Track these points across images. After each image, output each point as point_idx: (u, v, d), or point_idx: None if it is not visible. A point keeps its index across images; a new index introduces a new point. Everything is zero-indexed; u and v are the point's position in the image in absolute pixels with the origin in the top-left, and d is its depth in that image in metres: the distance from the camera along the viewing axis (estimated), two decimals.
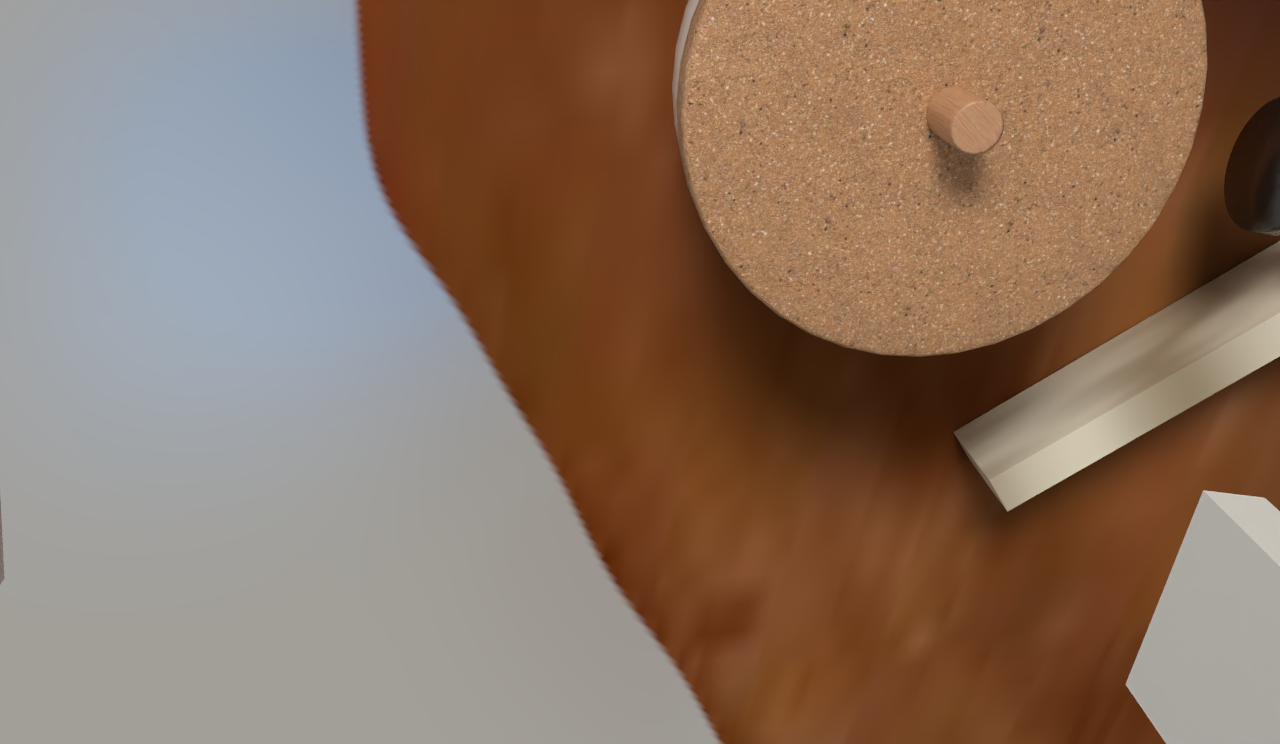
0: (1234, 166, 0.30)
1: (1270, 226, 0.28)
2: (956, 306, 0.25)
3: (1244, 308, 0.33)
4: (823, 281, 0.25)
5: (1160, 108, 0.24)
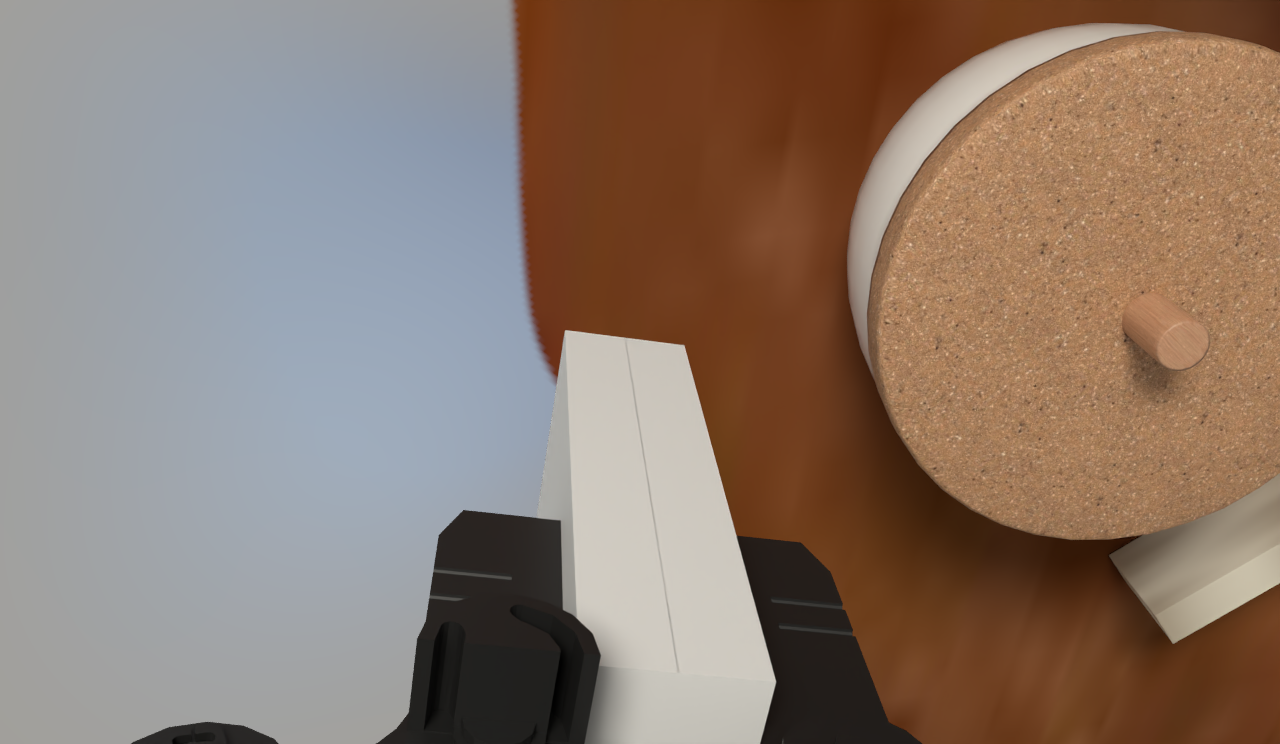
0: None
1: None
2: (1148, 494, 0.26)
3: None
4: (1016, 478, 0.25)
5: None
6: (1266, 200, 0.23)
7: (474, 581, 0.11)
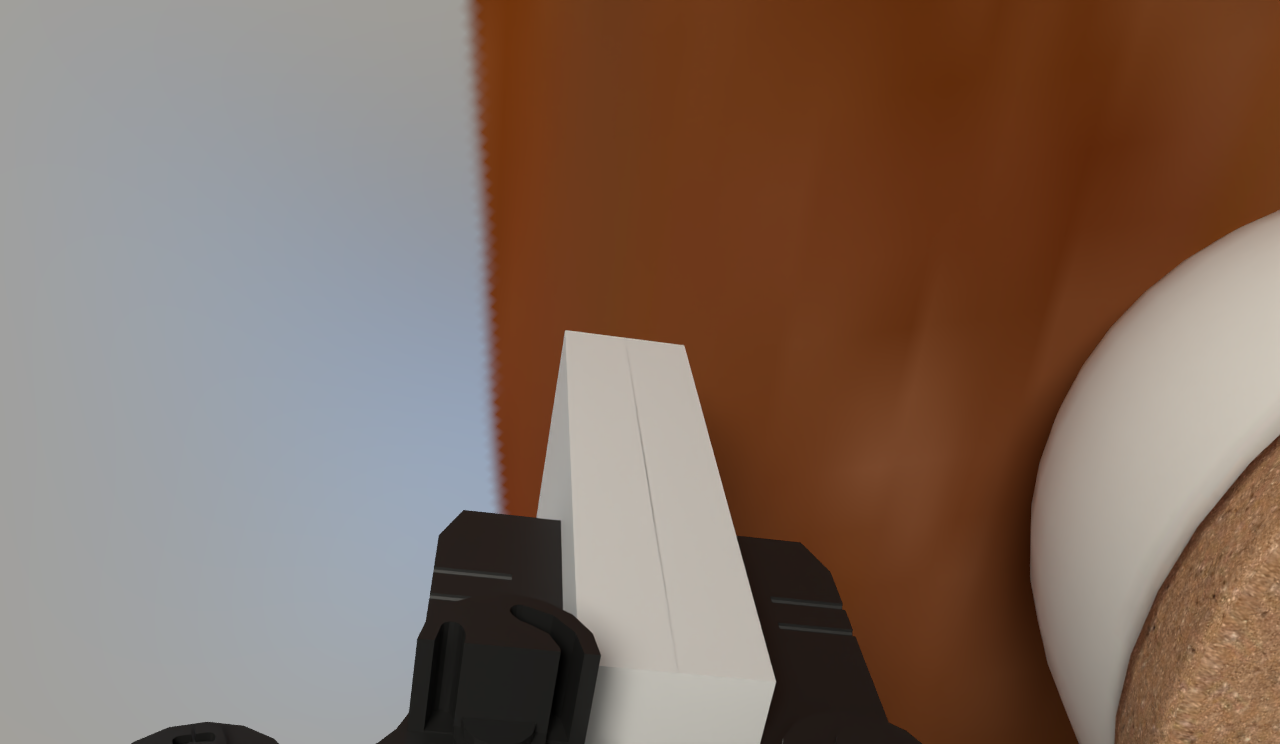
0: None
1: None
2: None
3: None
4: None
5: None
6: None
7: (474, 581, 0.11)
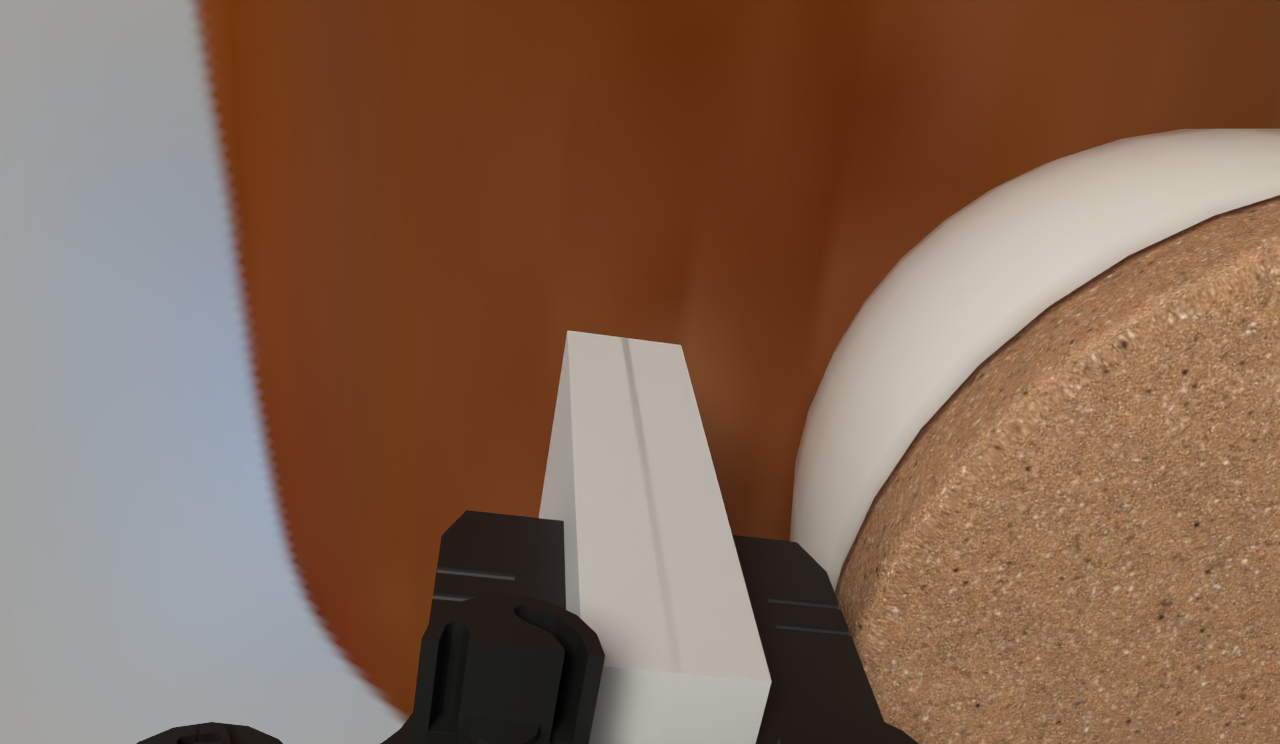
0: None
1: None
2: None
3: None
4: None
5: None
6: None
7: (477, 581, 0.11)
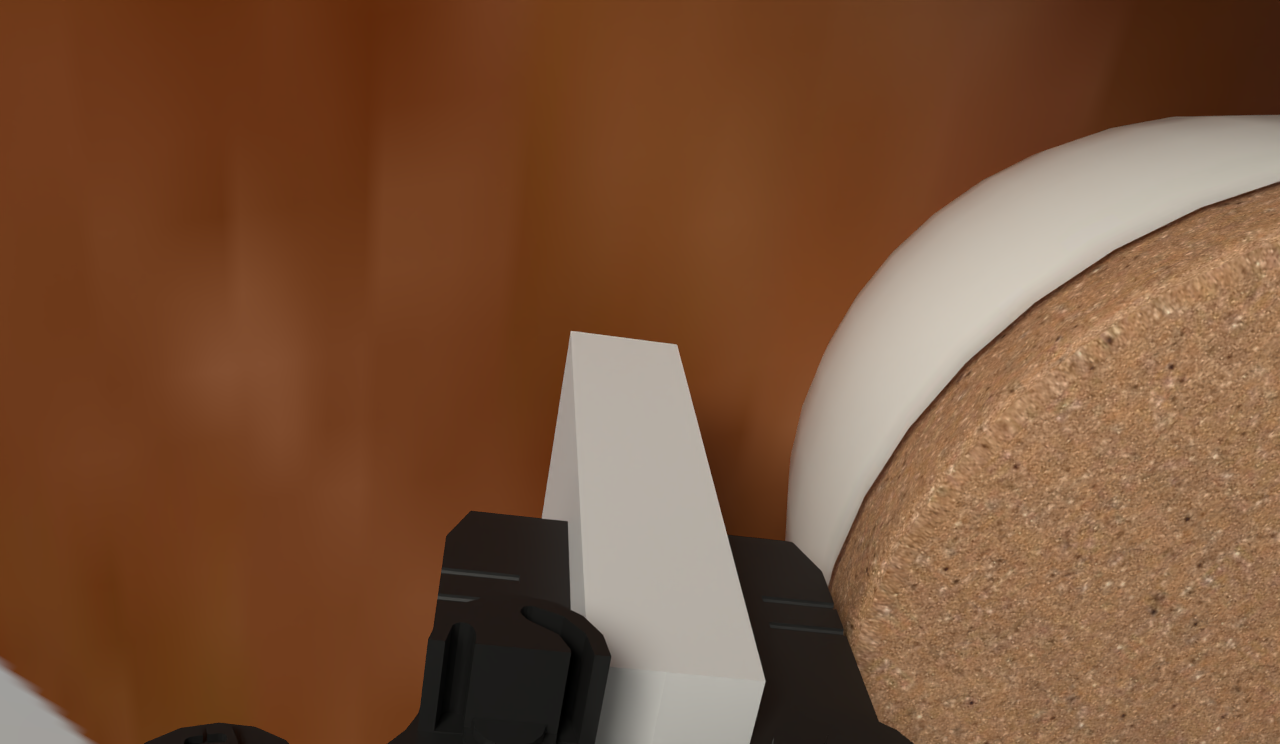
0: None
1: None
2: None
3: None
4: None
5: None
6: None
7: (482, 582, 0.11)
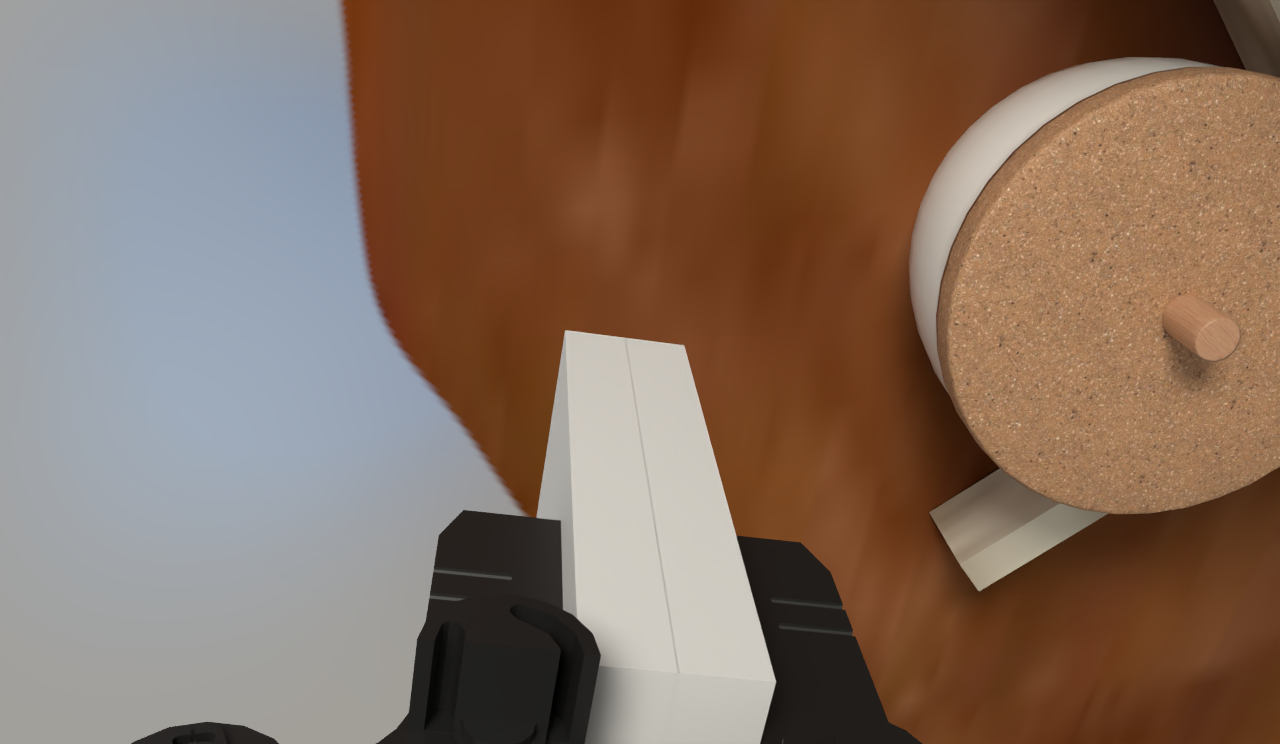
0: None
1: None
2: (1185, 472, 0.29)
3: None
4: (1069, 460, 0.28)
5: None
6: None
7: (474, 581, 0.11)
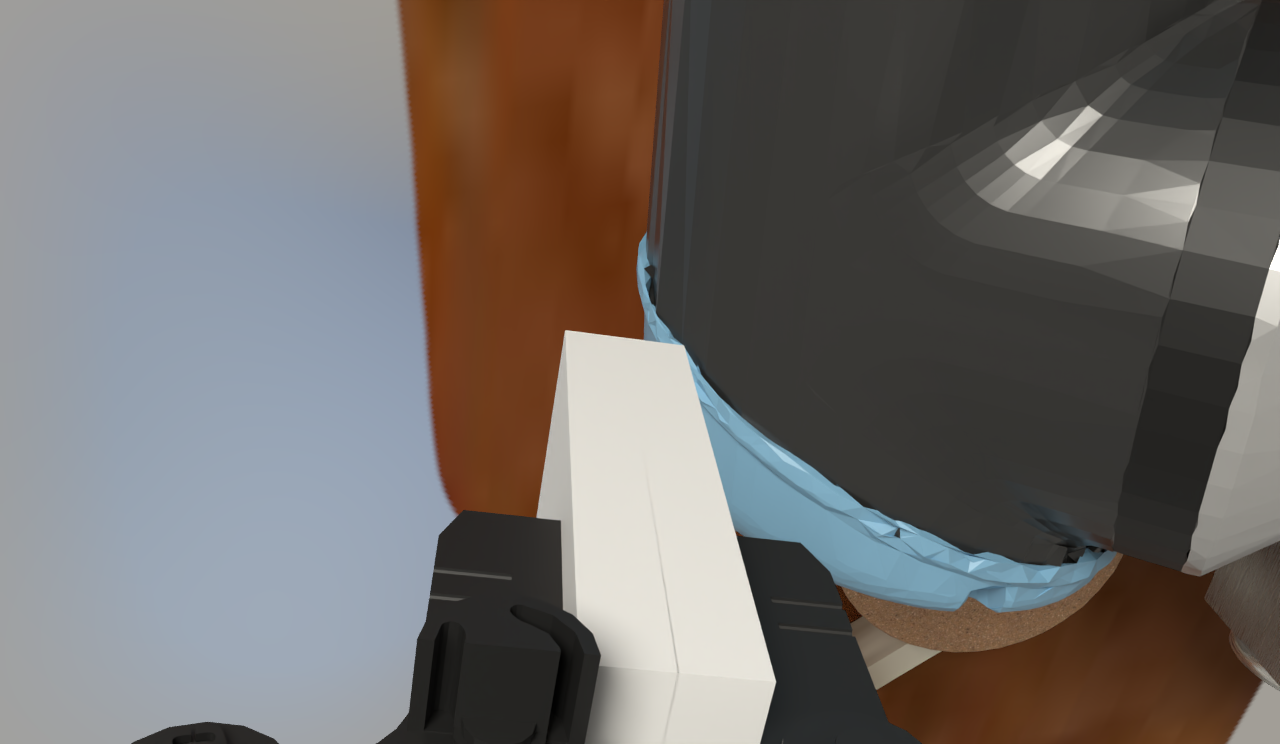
0: None
1: None
2: (997, 625, 0.43)
3: None
4: (916, 619, 0.42)
5: None
6: None
7: (474, 581, 0.11)
